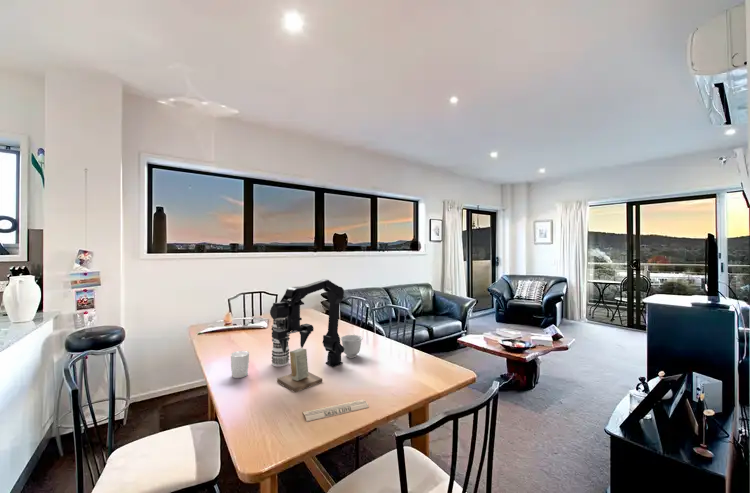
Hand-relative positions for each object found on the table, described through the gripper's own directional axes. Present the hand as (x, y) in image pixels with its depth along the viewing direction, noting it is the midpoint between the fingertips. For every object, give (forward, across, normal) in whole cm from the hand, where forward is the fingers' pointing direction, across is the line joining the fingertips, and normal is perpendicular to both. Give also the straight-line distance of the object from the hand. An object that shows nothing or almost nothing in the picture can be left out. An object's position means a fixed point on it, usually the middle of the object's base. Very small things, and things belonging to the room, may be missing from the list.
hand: (293, 349), depth 146 cm
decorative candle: (+13, -6, -20) cm, 25 cm away
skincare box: (+11, 0, +6) cm, 13 cm away
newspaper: (+14, +5, +36) cm, 39 cm away
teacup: (+13, -40, -3) cm, 42 cm away
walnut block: (+14, 0, +5) cm, 15 cm away
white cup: (+13, +15, -21) cm, 29 cm away
